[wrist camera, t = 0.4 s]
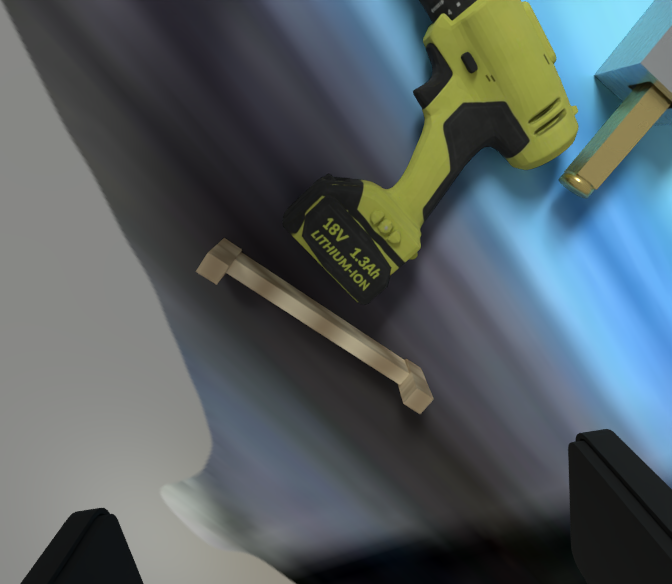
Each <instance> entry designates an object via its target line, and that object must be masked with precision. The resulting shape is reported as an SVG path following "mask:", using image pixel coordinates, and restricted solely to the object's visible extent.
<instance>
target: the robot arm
mask: <svg viewBox="0 0 672 584" xmlns="http://www.w3.org/2000/svg"><path fill="white" fill-rule="evenodd" d="M568 456H569V489H570V523H571V548H572V553H573V556H574V559H575V562H576V564H577V566H578V568H579V570H580V571H581V573H582V575H583V576H584V578H585V580H586V582H587V583H588V584H672V489H671V488H670V487H669V486H668V485H667V484H666V483H665V482H664V481H663V480H662V479H661V478H660V477H659V476H657V475H656V474H655V473H654V472H653V471H652V470H651V469H650V468H649V467H648V466H647V465H646V464H645V463H644V462H643V461H642V460H641V459H640V458H639V457H638V456H637V455H636V454H635V453H634V452H633V451H632V450H631V449H630V448H629V447H628V446H627V445H626V444H625V443H624V442H623V441H622V440H621V439H620V438H619V437H618V436H617V435H616V434H615V433H614V432H613V431H611V430H609V429H603V430H597V431H591V432H584V433H579V434H577V436H576V442H571V443H569V447H568ZM21 584H143V581H142V579H141V576H140V574H139V571H138V569H137V567H136V564H135V561H134V559H133V556H132V554H131V552H130V549H129V547H128V544H127V542H126V539H125V537H124V534H123V532H122V529H121V527H120V524H119V522H118V519H117V518H116V516H115V515H114V514H110V513H109V512H108V510H106V509H105V508H97V509H91V510H84V511H78V512H75V513H73V514H71V515H70V517H69V518H68V519H67V520H66V522H65V523H64V524H63V526H62V527H61V529H60V530H59V531H58V533H57V534H56V535H55V537H54V538H53V540H52V541H51V542H50V544H49V545H48V547H47V548H46V549H45V551H44V552H43V554H42V555H41V556H40V557H39V559H38V560H37V562H36V563H35V564H34V566H33V567H32V568H31V570H30V571H29V573H28V574H27V575H26V577H25V578H24V580H23V581H22V582H21Z"/></svg>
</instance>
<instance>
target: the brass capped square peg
mask: <svg viewBox="0 0 672 584" xmlns="http://www.w3.org/2000/svg"><path fill="white" fill-rule="evenodd" d="M671 104H672V101H671V100H670V99H669V98H668V97H667V96H666V95H664V94H663V93H662V92H661V91H660V90H659V89H658V88H657V87H656V86H655V85H654V84H653V83H652V82H651V81H649V82H644V83H639V84H637V86H636V87H635V88H634V89H633V90H632V92H631V93H630V94H629V95H628V96H627V98H626V99H625V100H624V101H623V102H622V104H621V105H620V106H619V107H618V108H617V109H616V111H615V112H614V113H613V114H612V115H611V117H610V118H609V119H608V120H607V121H606V123H605V124H604V125H603V126H602V127H601V129H600V130H599V131H598V132H597V133H596V134H595V136H594V137H593V138H592V139H591V140H590V142H589V143H588V144H587V145H586V146H585V148H584V149H583V150H582V151H581V152H580V154H579V155H578V156H577V157H576V158H575V159H574V161H573V162H572V163H571V164H570V165H569V167H568V168H567V169H566V170H565V171H564V174H563V175H562V176H561V177H560V178H559V182H560V183H561V184H562V185H563V186H564V187H565V188H566V189H568V190H569V191H571V192H572V193H574V194H576V195H577V196H579V197H582V198H585V199H587V198H588V197H589V196H590V195H591V194H592V193H593V191H594V190H597V189H598V187H599V186H600V185H601V184H602V183H603V182H604V181H605V179H606V178H607V177H608V176H609V175H610V174H611V173H612V171H613V170H614V169H615V168H616V167H617V166H618V165H619V163H620V162H621V161H622V160H623V159H624V158H625V156H626V155H627V154H628V153H629V152H630V151H631V150H632V148H633V147H634V146H635V145H636V144H637V143H638V142H639V140H640V139H641V138H642V137H643V136H644V135H645V134H646V132H647V131H648V130H649V129H650V128H651V127H652V125H653V124H654V123H655V122H656V121H657V120H658V119H659V117H660V116H661V115H662V114H663V113H664V112H665V111H666V109H667V108H668V107H669V106H670V105H671Z"/></svg>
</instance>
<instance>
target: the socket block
mask: <svg viewBox="0 0 672 584" xmlns="http://www.w3.org/2000/svg"><path fill="white" fill-rule="evenodd" d="M594 76H595V77H597V78H598V79H599V80H600V81H601V82H602V83H603V84H604V85H605V86H606V87H607V88H609V89H610V90H611V91H612V92H613V93H614V94H615V95H616V96H617V97H618V98H619V99H621V100H622V101H624V100H625V99H626V98H627V96H628V95H629V94H630V93H631V92H632V90H633V89H634V88H635V87H636V86H637V84H639V83H644V82H649V81H651V82H652V83H653V84H654V85H655V86H656V87H657V88H658V89H659V90H660V91H661V92H662V93H663V94H664V95H666V96H667V97H668V98H669V99H670V100H671V101H672V0H654V2H653V3H652V4H651V5H650V7H649V8H648V9H647V10H646V12H645V13H644V14H643V15H642V16H641V18H640V19H639V20H638V21H637V23H636V24H635V25H634V26H633V28H632V29H631V30H630V31H629V33H628V34H627V35H626V36H625V37H624V39H623V40H622V41H621V42H620V44H619V45H618V46H617V47H616V49H615V50H614V51H613V52H612V54H611V55H610V56H609V57H608V59H607V60H606V61H605V62H604V63H603V65H602V66H601V67H600V68H599V70H598V71H597V72H596V73H595V75H594ZM669 124H672V104H671V105H670V106H669V107H668V108H667V109H666V111H665V112H664V113H663V114H662V115H661V116H660V117H659V119H658V120H657V121H656V122H655V123H654V124H653V125H669Z"/></svg>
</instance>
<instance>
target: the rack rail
mask: <svg viewBox="0 0 672 584" xmlns="http://www.w3.org/2000/svg"><path fill="white" fill-rule="evenodd" d="M241 251H242V249H240V248H239V247H237V246H236V245H234V244H233V243H231V242H230V241H228V240H227V239H225V238H224V239H222V240H221V241H220V242H219V243H218V244H217V245H216V246H215V247H214V248H212V249H211V250H210V251H209V252H208V253H207V255H206V256H205V258H204V260H203V261H202V263H201V264H200V266H199V267H198V269H197V271H196V272H197V273H199V274H200V275H202V276H204V277H205V278H207V279H208V280H210V281H211V282H213V283H215V284H216V285H217V284H218V283H219V281H220V280H221V279H222V277H223V276H224V275H225V274H226V273H227V274H229V275H230V276H232V277H233V278H235V279H236V280H238V281H240V282H241V283H243V284H244V285H246V286H247V287H249V288H250V289H252V290H253V291H255V292H257V293H258V294H260V295H261V296H263V297H264V298H266V299H267V300H269V301H271V302H272V303H274V304H275V305H277V306H278V307H280V308H281V309H283V310H284V311H286V312H288V313H289V314H291V315H292V316H294V317H295V318H297V319H298V320H300V321H301V322H303V323H305V324H306V325H308V326H309V327H311V328H312V329H314V330H315V331H317V332H319V333H320V334H322V335H323V336H325V337H326V338H328V339H329V340H331V341H332V342H334V343H336V344H337V345H339V346H340V347H342V348H343V349H345V350H346V351H348V352H350V353H351V354H353V355H354V356H356V357H357V358H359V359H360V360H362V361H363V362H365V363H367V364H368V365H370V366H371V367H373V368H374V369H376V370H377V371H379V372H380V373H382V374H384V375H385V376H387V377H388V378H390V379H391V380H393V381H394V382H396V383H398V387H399V390H400V394H401V397H402V401H403V404H405V405H406V406H408V407H409V408H411V409H413V410H414V411H416V412H417V413H419V414H421V413H422V412H423V411H424V409H425V408H426V407H427V406H428V405H429V404H430V403H431V402H432V400H433V399H434V398H433V396H432V394H431V391H430V389H429V386H428V384H427V382H426V379H425V377H424V374H423V372H422V370H421V368H420V367H418V366H417V365H415V364H414V363H412V362H411V361H409V360H408V359H405V360H404V359H402V358H401V357H399V356H398V355H396V354H395V353H393V352H392V351H390V350H389V349H387V348H386V347H384V346H383V345H381V344H380V343H378V342H376V341H375V340H373V339H372V338H370V337H369V336H367V335H366V334H364V333H363V332H361V331H360V330H358V329H357V328H355V327H354V326H352V325H351V324H349V323H348V322H346V321H345V320H343V319H342V318H340V317H339V316H337V315H336V314H334V313H333V312H331V311H330V310H328V309H327V308H325V307H324V306H322V305H321V304H319V303H317V302H316V301H314V300H313V299H311V298H310V297H308V296H307V295H305V294H304V293H302V292H301V291H299V290H298V289H296V288H295V287H293V286H292V285H290V284H289V283H287V282H286V281H284V280H283V279H281V278H280V277H278V276H277V275H275V274H274V273H272V272H271V271H269V270H268V269H266V268H265V267H263V266H262V265H260V264H259V263H257V262H255V261H254V260H252V259H251V258H249V257H248V256H246V255H245V254H243V253H242V252H241Z"/></svg>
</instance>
